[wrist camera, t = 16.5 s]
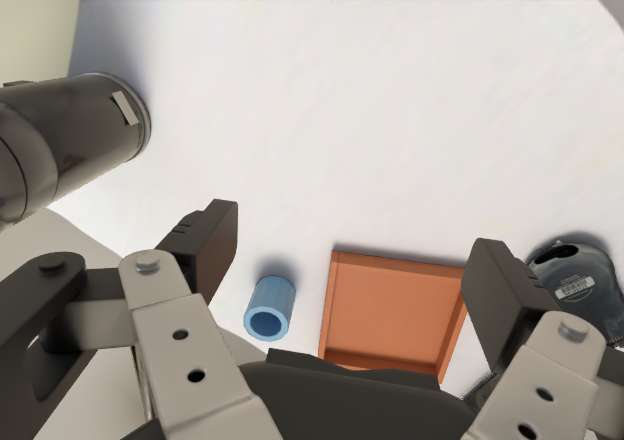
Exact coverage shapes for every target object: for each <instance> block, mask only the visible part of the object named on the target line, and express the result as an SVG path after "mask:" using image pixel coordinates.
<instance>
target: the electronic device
mask: <svg viewBox="0 0 624 440" xmlns="http://www.w3.org/2000/svg"><path fill="white" fill-rule="evenodd" d="M529 267H530V268H531V269H532V270H533V272H534V273H535V274H536V276H537V277H538V280H540V281H541V283H542V284H543V285H544V289H547V291H548V292H549V294H550V295H551V296H552V298H553V299H554V300H555V302H556V303H557V304H558V306H559V307H560V309H561V310H562V311H563V312H565V313H569V314H572V315H575V316H577V317H579V318H581V319H583V320H585V321H587V322H588V323H590V324H591V325H593V326H594V327H595V328H596V329H598V330H599V332H600V333H601V334H602V335H603V336H604V338H605V340H606V346H608V347H611V348H613V349H615V347H618V346H620V348H624V297H623V294H622V292H621V290H620V288H619V285H618V283H617V281H616V280H617V279H616V274H615V268H614V265H613V262H612V261H611V259H610V258H609V256H608V254H605V252H603V251H602V250H600V249H598V248H595V247H593V246H590V245H586V244H575V243H572V244H564V243H562V242H561V241H559V240H558V241H557V242H556V244H555V245H554V246H552V247H550V248H548V249H546V250H545V251H543V252H542V253H541V254H539V255H538V256H537V257H536V258H535V259H534V260H533V261H532V262H531V264H530V265H529Z"/></svg>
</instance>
